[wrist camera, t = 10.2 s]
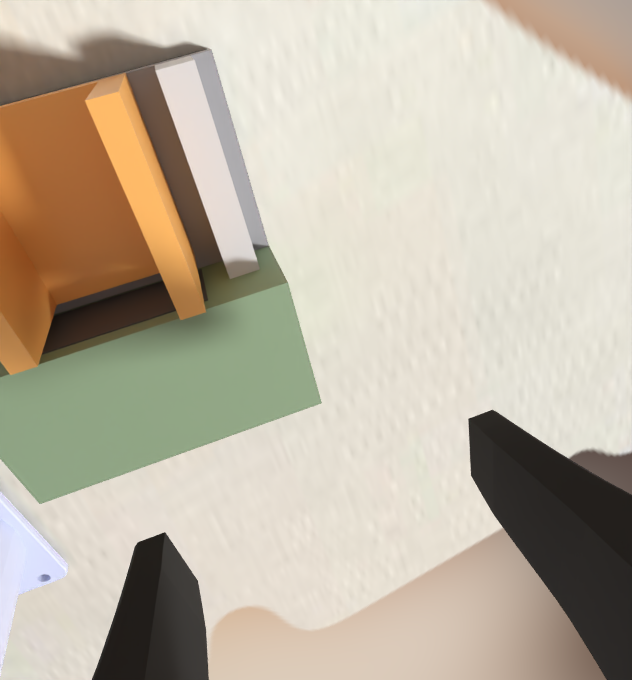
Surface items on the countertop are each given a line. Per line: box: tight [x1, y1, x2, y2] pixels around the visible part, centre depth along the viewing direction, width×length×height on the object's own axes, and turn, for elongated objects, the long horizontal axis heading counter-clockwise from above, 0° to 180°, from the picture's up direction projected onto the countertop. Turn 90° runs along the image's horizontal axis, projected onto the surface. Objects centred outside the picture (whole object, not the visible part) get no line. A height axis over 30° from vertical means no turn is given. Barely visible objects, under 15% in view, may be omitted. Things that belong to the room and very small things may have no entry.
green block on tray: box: [0, 49, 322, 504], centre depth 16 cm, size 10×11×4 cm
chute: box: [0, 73, 206, 375], centre depth 13 cm, size 5×6×4 cm
